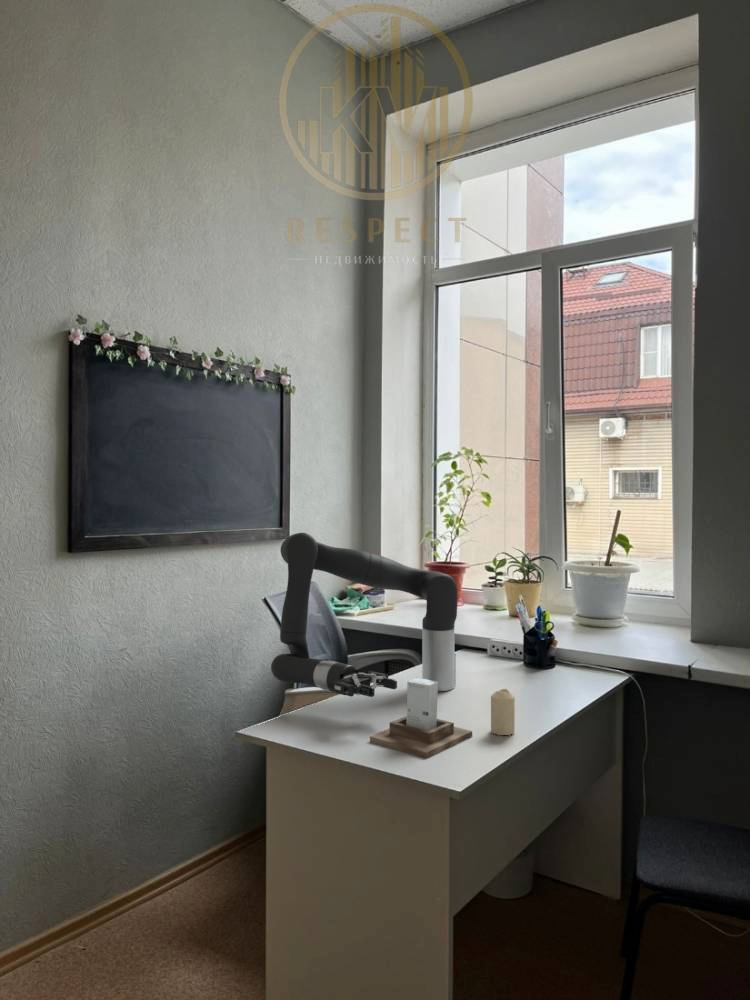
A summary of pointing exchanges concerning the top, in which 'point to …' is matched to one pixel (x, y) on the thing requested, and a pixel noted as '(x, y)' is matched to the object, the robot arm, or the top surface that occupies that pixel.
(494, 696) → the candle
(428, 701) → the skincare box
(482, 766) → the top surface
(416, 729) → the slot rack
